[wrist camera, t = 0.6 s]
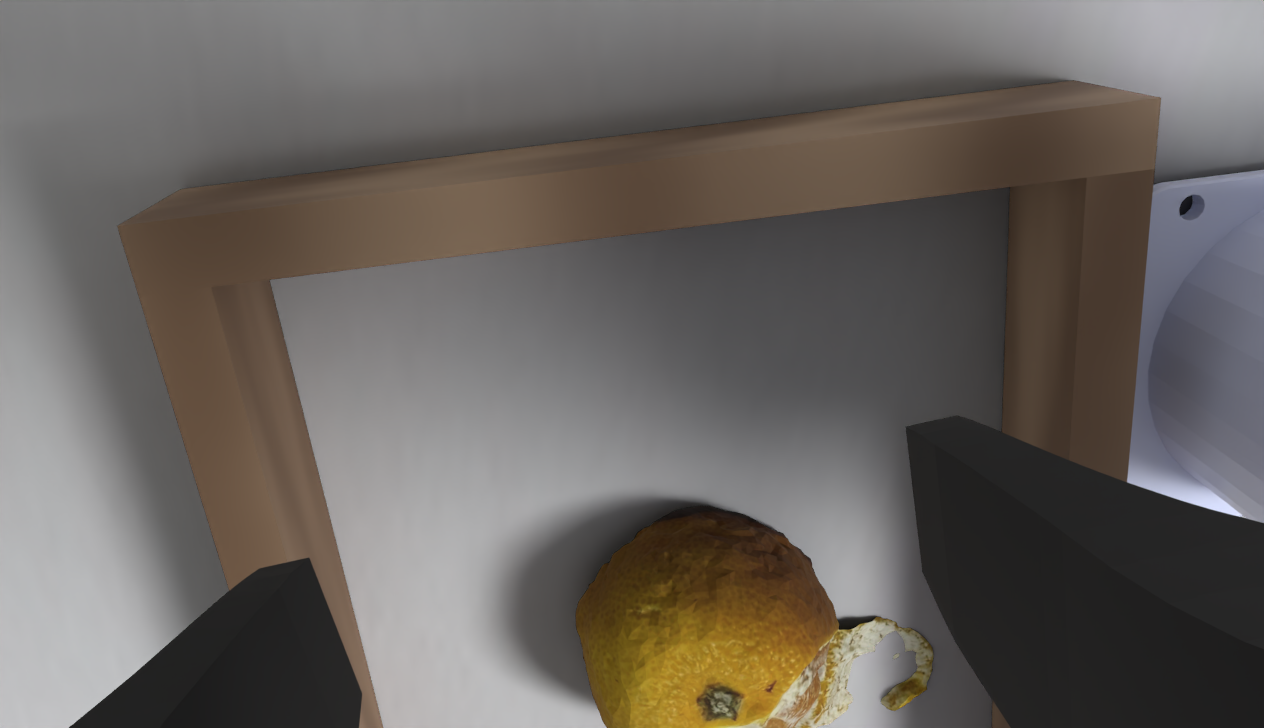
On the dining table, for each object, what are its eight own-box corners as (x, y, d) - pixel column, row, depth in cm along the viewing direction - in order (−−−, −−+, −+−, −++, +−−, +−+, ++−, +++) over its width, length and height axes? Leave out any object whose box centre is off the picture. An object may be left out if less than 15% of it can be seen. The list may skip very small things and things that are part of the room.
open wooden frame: (1073, 80, 19) (1160, 97, 17) (1033, 789, 26) (1091, 886, 23) (180, 189, 19) (117, 226, 16) (375, 884, 26) (353, 995, 23)
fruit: (667, 819, 26) (686, 947, 23) (480, 605, 23) (469, 715, 20) (945, 666, 25) (1008, 776, 22) (785, 421, 22) (829, 503, 19)
